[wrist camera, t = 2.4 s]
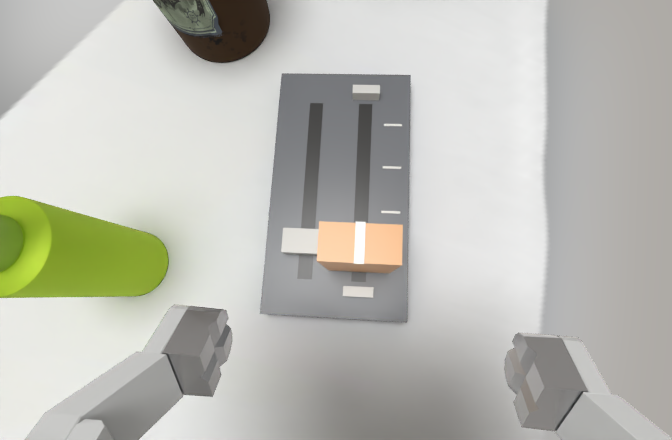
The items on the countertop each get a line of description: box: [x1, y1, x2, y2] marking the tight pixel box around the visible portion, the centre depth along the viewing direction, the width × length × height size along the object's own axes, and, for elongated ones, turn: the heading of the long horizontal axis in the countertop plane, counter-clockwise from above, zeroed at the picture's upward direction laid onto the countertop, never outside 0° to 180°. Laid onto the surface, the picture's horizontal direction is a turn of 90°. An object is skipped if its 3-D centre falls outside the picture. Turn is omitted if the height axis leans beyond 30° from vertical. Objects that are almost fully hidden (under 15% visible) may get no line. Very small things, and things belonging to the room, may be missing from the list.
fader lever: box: [317, 221, 403, 273], centre depth 26 cm, size 2×5×9 cm, turn 87°
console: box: [260, 74, 411, 322], centre depth 32 cm, size 22×12×4 cm, turn 177°
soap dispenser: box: [0, 196, 168, 298], centre depth 24 cm, size 6×7×20 cm
